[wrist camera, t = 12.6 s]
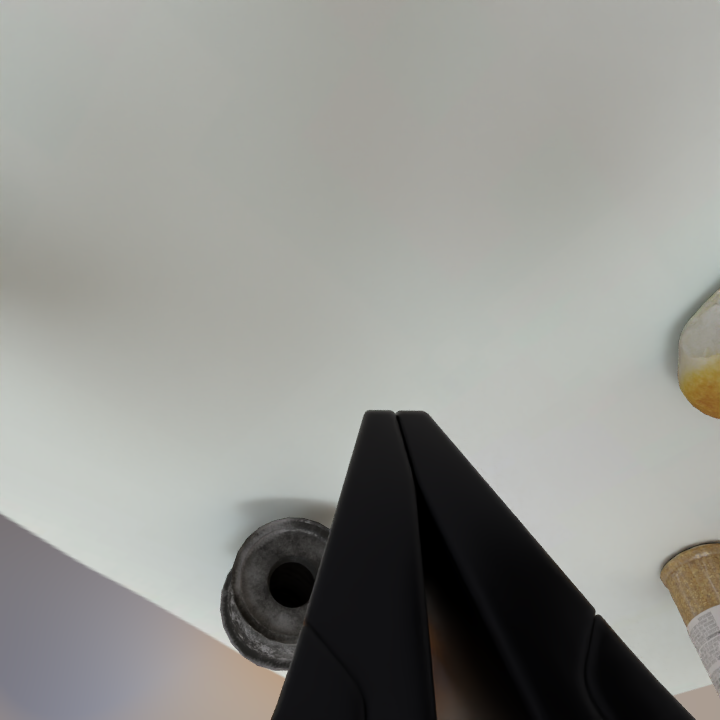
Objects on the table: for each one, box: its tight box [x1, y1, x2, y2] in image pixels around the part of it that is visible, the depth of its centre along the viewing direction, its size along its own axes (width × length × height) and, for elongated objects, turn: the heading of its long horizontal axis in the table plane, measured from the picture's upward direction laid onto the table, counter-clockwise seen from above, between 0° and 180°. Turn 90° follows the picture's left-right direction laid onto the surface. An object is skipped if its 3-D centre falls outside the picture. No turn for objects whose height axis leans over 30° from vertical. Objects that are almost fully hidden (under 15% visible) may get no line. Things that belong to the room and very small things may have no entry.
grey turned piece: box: [220, 518, 330, 671], centre depth 31 cm, size 6×6×12 cm
